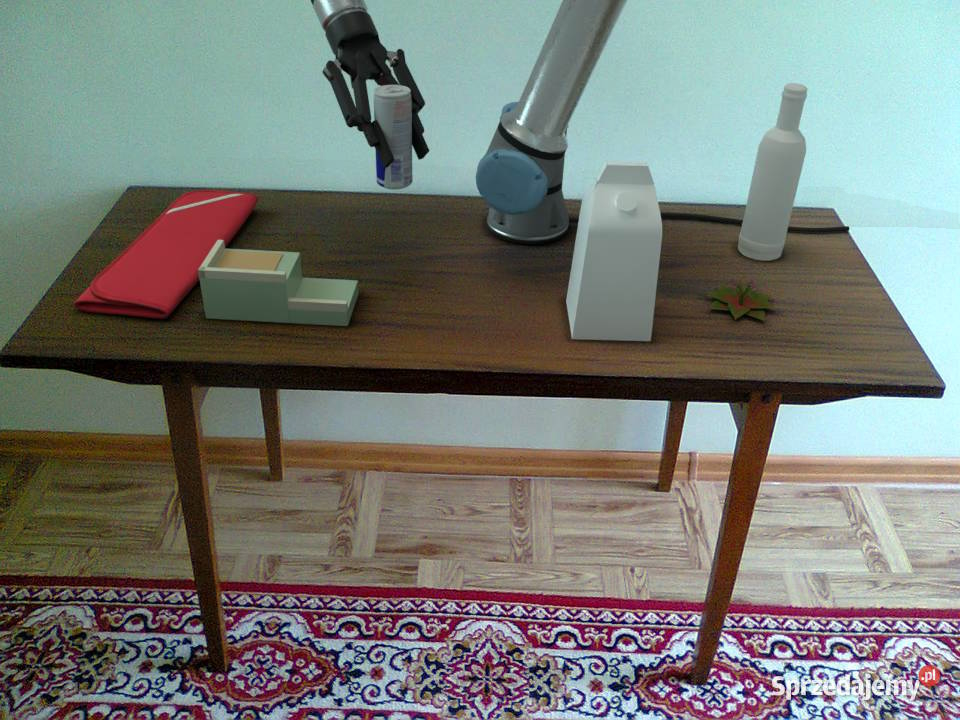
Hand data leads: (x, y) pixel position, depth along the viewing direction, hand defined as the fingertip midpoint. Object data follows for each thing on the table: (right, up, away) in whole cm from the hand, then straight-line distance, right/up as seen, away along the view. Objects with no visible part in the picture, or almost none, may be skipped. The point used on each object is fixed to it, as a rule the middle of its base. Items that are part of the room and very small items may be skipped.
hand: (406, 159), depth 138 cm
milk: (+31, -24, +6) cm, 40 cm away
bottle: (+62, -11, +27) cm, 68 cm away
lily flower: (+53, -22, +11) cm, 59 cm away
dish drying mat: (-41, -13, +19) cm, 47 cm away
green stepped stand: (-20, -22, +6) cm, 30 cm away
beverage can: (-2, -3, +6) cm, 7 cm away
